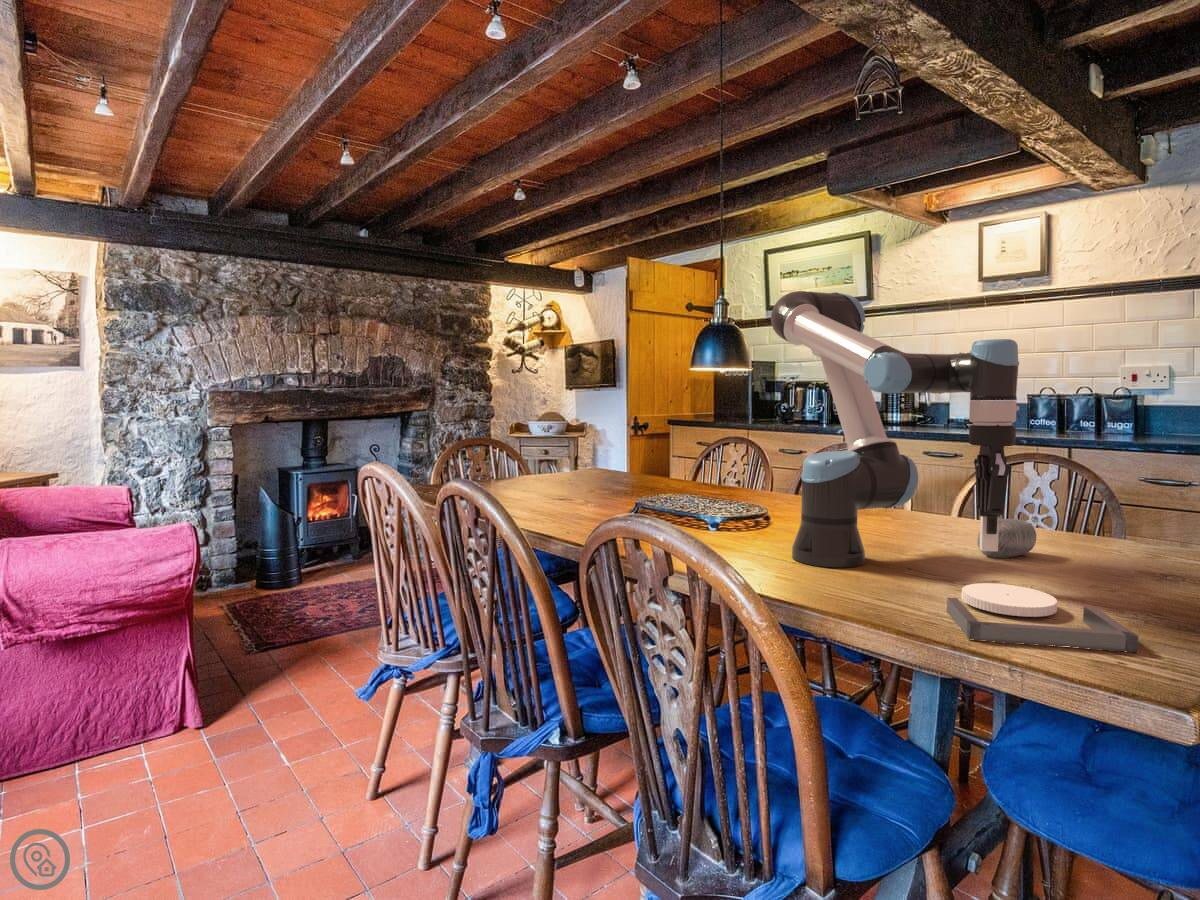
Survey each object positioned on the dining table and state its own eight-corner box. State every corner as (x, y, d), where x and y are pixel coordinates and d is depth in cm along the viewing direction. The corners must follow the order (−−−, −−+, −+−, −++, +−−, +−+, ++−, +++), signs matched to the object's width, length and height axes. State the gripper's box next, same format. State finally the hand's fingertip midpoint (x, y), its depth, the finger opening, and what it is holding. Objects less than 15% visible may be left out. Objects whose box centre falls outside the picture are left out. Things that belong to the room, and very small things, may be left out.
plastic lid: (970, 592, 128) (971, 578, 128) (1061, 607, 119) (1062, 592, 119) (952, 611, 117) (953, 596, 117) (1050, 629, 108) (1051, 613, 108)
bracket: (969, 640, 102) (970, 624, 102) (946, 612, 116) (947, 597, 115) (1137, 653, 97) (1138, 635, 97) (1093, 622, 110) (1094, 606, 110)
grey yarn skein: (1004, 533, 163) (1017, 500, 158) (1039, 558, 156) (1054, 525, 150) (960, 551, 159) (972, 518, 153) (995, 578, 152) (1008, 545, 146)
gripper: (1028, 425, 121) (1023, 558, 122) (1003, 422, 133) (999, 544, 135) (980, 425, 123) (976, 557, 124) (960, 423, 135) (957, 542, 137)
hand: (988, 550), depth 130 cm, fingers closed
